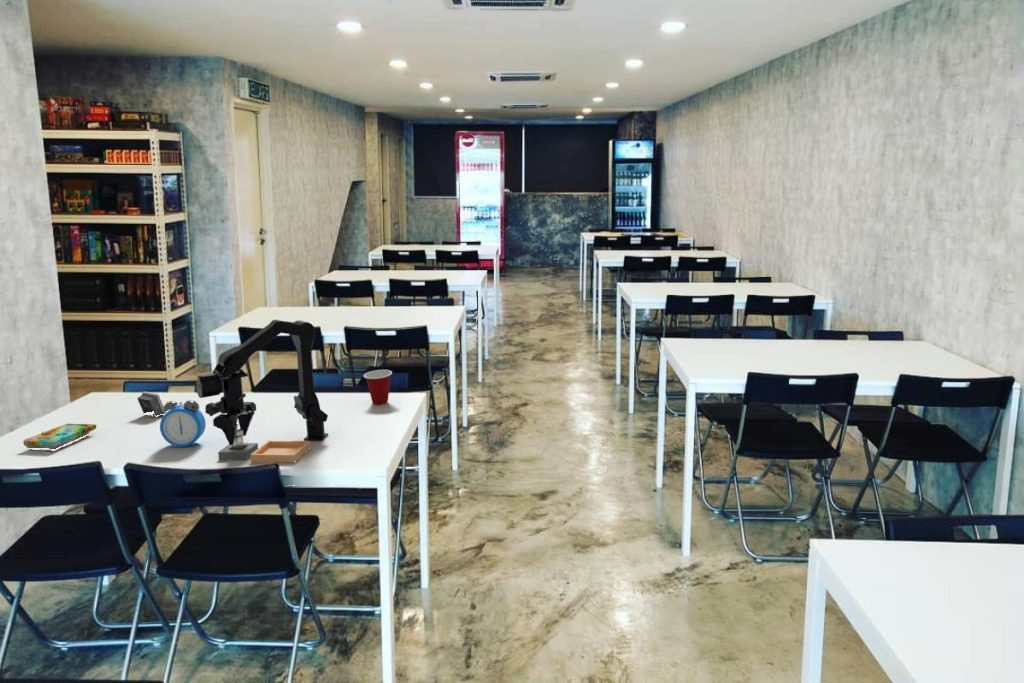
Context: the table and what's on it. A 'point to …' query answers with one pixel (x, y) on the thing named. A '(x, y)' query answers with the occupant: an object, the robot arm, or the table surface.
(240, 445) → the cylinder
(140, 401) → the electrical switch
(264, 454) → the tray
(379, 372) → the plastic cup
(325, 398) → the table surface
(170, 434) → the alarm clock
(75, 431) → the puzzle game
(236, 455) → the block
